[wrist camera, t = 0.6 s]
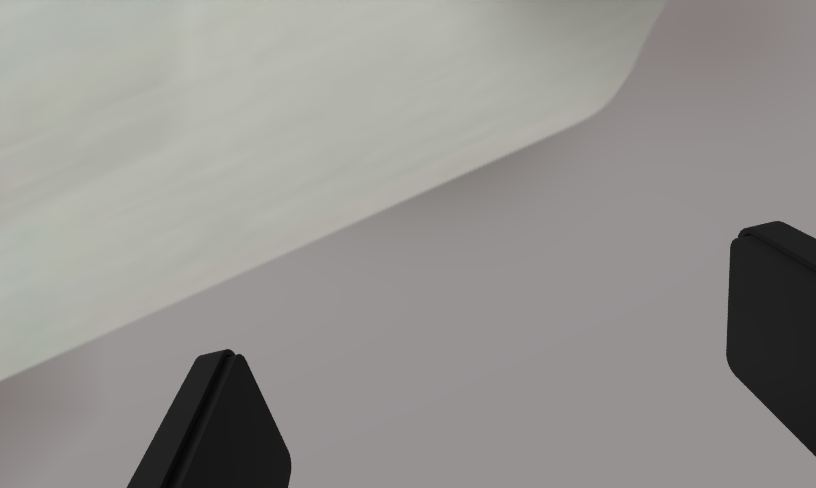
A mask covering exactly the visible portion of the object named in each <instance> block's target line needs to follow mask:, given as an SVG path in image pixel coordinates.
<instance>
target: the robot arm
mask: <svg viewBox="0 0 816 488" xmlns="http://www.w3.org/2000/svg"><path fill="white" fill-rule="evenodd" d="M726 351H727V352H726V356H727V361H728V364H729V367H730V369H731V370H732V372H733V373H734V374H735V376H736V377H737V378H739V380H740V381H741V382H742V383H743V384H744V385H745V386H746V387H747V388H748V389H749V390H751V392H752V393H753V394H754V395H755V396H756V397H757V398H758V399H759V400H760V401H761V402H762V403H763V404H764V405H765V406H766V407H767V408H768V409H769V410H770V411H771V412H772V413H773V414H774V415H775V416H776V417H777V418H778V419H779V420H780V421H781V422H782V423H783V424H784V425H785V426H786V427H787V428H788V429H789V430H790V431H791V432H792V433H793V434H794V435H795V436H796V437H797V438H798V439H799V440H800V441H801V442H802V443H803V444H804V445H805V446H806V447H807V448H808V449H809V450H810V451H811V452H812V453H813V454H814V455H815V456H816V239H815V238H813V237H811V236H809V235H807V234H805V233H803V232H801V231H799V230H797V229H795V228H794V227H791V226H790V225H788V224H785V223H783V222H780V221H774V222H770V223H765V224H761V225H757V226H753V227H749V228H744V229H743V230H741V231H740V233H739V235H738V238H736V239H734V240H733V241H732V243H731V247H730V270H729V296H728V323H727V349H726ZM290 474H291V458H290V454H289V451H288V449H287V447H286V445H285V443H284V441H283V439H282V436H281V434H280V432H279V430H278V428H277V426H276V423H275V421H274V419H273V417H272V415H271V413H270V411H269V409H268V406H267V404H266V402H265V400H264V398H263V396H262V393H261V391H260V389H259V387H258V385H257V383H256V381H255V379H254V376H253V374H252V372H251V370H250V368H249V366H248V364H247V361H246V360H245V358H244V356H242V355H241V354H237V355H235V354H234V352H233V351H231V350H229V349H226V350H222V351H217V352H213V353H209V354H205V355H201V356H199V357H197V359H196V360H195V362H194V364H193V366H192V367H191V369H190V371H189V373H188V375H187V377H186V379H185V381H184V382H183V384H182V386H181V388H180V390H179V392H178V394H177V395H176V397H175V399H174V401H173V403H172V405H171V406H170V408H169V410H168V412H167V414H166V416H165V418H164V419H163V421H162V423H161V425H160V427H159V429H158V431H157V432H156V434H155V436H154V438H153V440H152V442H151V444H150V445H149V447H148V449H147V451H146V453H145V455H144V457H143V459H142V460H141V462H140V464H139V466H138V468H137V470H136V472H135V473H134V475H133V477H132V479H131V481H130V483H129V484H128V487H127V488H288V485H289V480H290Z"/></svg>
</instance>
